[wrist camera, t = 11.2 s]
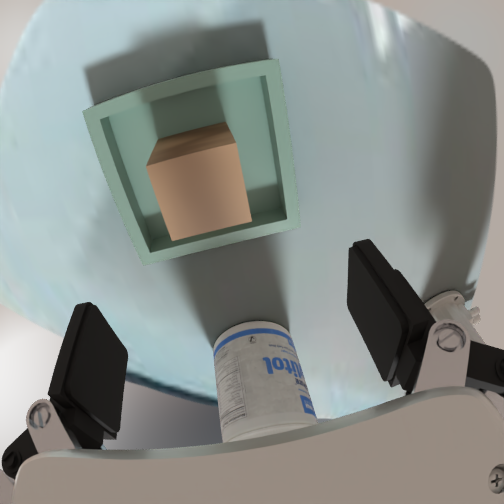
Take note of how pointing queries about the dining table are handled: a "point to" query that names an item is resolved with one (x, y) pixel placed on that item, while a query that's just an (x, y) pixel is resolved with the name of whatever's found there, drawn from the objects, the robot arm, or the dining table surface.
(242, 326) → the supplement tub
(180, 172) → the walnut block
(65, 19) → the dining table surface
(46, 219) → the dining table surface
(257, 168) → the rest tray
